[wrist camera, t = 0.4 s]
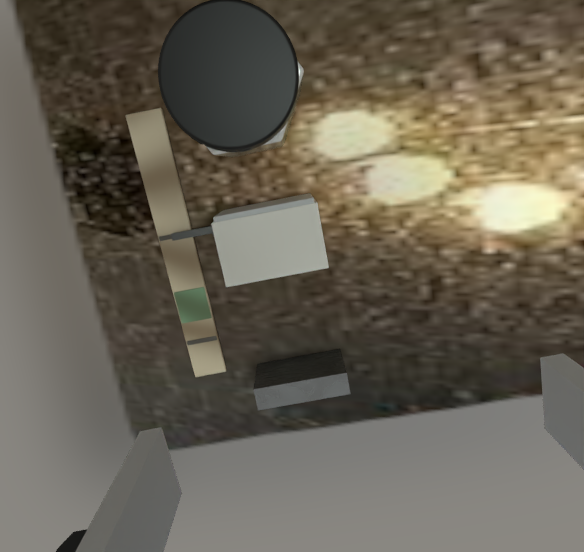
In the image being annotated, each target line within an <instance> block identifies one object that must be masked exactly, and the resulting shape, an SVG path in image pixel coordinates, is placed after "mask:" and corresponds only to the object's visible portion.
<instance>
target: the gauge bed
mask: <svg viewBox="0 0 584 552" xmlns="http://www.w3.org/2000/svg"><path fill="white" fill-rule="evenodd" d="M125 116H126V119H127V123H128V127H129V131H130V134H131V138H132V142H133V146H134V149H135V153H136V157H137V160H138V164H139V168H140V172H141V175H142V179H143V183H144V187H145V190H146V194H147V198H148V202H149V205H150V209H151V213H152V217H153V220H154V224H155V228H156V232H157V235H158V239H159V243H160V246H161V250H162V254H163V258H164V261H165V265H166V269H167V273H168V276H169V280H170V284H171V288H172V291H173V295H174V299H175V303H176V306H177V310H178V314H179V318H180V321H181V325H182V329H183V333H184V336H185V340H186V344H187V347H188V351H189V355H190V359H191V362H192V366H193V370H194V374H195V377H198V376H204V375H210V374H215V373H221V372H226V370H227V369H226V365H225V360H224V356H223V352H222V348H221V344H220V340H219V336H218V332H217V328H216V324H215V320H214V316H213V312H212V308H211V304H210V300H209V296H208V292H207V288H206V284H205V280H204V276H203V272H202V268H201V264H200V260H199V256H198V252H197V248H196V243H195V239H194V237H190V238H185V239H180V240H175V241H172V237H171V234H172V233H176V232H181V231H186V230H192V227H191V223H190V219H189V215H188V211H187V207H186V203H185V199H184V195H183V191H182V187H181V183H180V179H179V175H178V171H177V167H176V163H175V159H174V155H173V151H172V147H171V143H170V139H169V135H168V130H167V126H166V122H165V118H164V114H163V110H162V108H158V109H153V110H148V111H144V112H139V113H134V114H129V115H125Z"/></svg>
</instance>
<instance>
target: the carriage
mask: <svg viewBox="0 0 584 552" xmlns="http://www.w3.org/2000/svg"><path fill="white" fill-rule="evenodd" d="M213 220H214V222H212V223H211V225H212V226H207V227H202V228H197V229H192V230H186V231H181V232H176V233H172V234H171V237H172V241H175V240H180V239H185V238H190V237H195V236H200V235H206V234H211V233H212V234H213V236H214V238H215V242H216V246H217V250H218V255H219V259H220V263H221V267H222V272H223V276H224V280H225V284H226V287H230V286H236V285H241V284H246V283H252V282H257V281H262V280H267V279H273V278H278V277H283V276H289V275H294V274H299V273H304V272H310V271H315V270H320V269H326V268H329V266H328V261H327V255H326V249H325V244H324V238H323V232H322V227H321V221H320V215H319V210H318V204H317V202H316V200H315V199H314V198H313V196H312V195H311V194H310V193H308V194H303V195H298V196H293V197H287V198H282V199H277V200H272V201H267V202H262V203H257V204H252V205H247V206H241V207H236V208H231V209H226V210H223V211H221V212H220V213H218V214H217V215H216V216H214V217H213Z"/></svg>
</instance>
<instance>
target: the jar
mask: <svg viewBox="0 0 584 552" xmlns="http://www.w3.org/2000/svg"><path fill="white" fill-rule="evenodd" d="M303 74H304V69H303V68H302V66H301V65H300V64H299V63H298V61H297V57H296V53H295V50H294V48H293V45H292V43H291V41H290V39H289V37H288V35H287V34H286V32H285V31H284V29H283V28H282V27H281V25H280V24H279V23H278V22H277V21H276V20H275V19H274V18H273V17H272V16H271V15H270V14H268V13H267V12H266V11H264V10H263V9H261V8H259V7H258V6H255V5H253V4H251V3H248V2H246V1H242V0H210V1H207V2H204V3H201V4H199V5H197V6H195V7H193V8H192V9H190V10H189V11H187V12H186V13H185V14H183V15H182V16H181V17H180V18H179V19H178V20H177V21H176V23H175V24H174V25H173V26H172V28H171V29H170V31H169V33H168V34H167V36H166V38H165V41H164V43H163V46H162V49H161V53H160V57H159V64H158V79H159V86H160V91H161V95H162V98H163V101H164V103H165V105H166V108H167V110H168V111H169V113H170V115H171V116H172V118H173V119H174V121H175V122H176V123H177V124H178V126H179V127H180V128H181V129H182V130H183V131H184V132H185V133H186V134H188V135H189V136H190V137H191V138H192V139H194V140H196V141H197V142H199V143H200V144H203V145H205V146H206V147H207V148H208V149H209V151H210V152H211V153H212V154H214V155H219V156H226V157H236V156H241V155H246V154H251V153H256V152H260V151H265V150H270V149H275V148H280V147H283V145H284V143H285V140H286V137H287V133H288V130H289V127H290V124H291V121H292V118H293V115H294V112H295V109H296V106H297V102H298V99H299V96H300V92H301V86H302V80H303Z"/></svg>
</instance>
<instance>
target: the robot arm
mask: <svg viewBox="0 0 584 552" xmlns="http://www.w3.org/2000/svg"><path fill="white" fill-rule="evenodd" d="M540 360H541V376H542V392H543V408H544V425H545V429H546V430H547V431H548V433H550V435H552V437H553V438H554V439H555V440H556V441H557V442H558V443H559V444H560V445H561V446H562V447H563V448H564V449H565V450H566V451H567V453H569V455H570V456H571V457H572V458H573V459H574V460H575V461H576V462H577V463H578V464H579V465H580V466H581V467H582V468H583V469H584V368H583V367H582V366H580V365H579V364H577V363H576V362H574V361H573V360H572V359H570V358H569V357H567V356H566V355H565V354H558V355H553V356H547V357H542V358H540ZM181 494H182V492H181V488H180V486H179V482H178V479H177V476H176V472H175V469H174V466H173V463H172V460H171V456H170V453H169V450H168V447H167V444H166V440H165V437H164V434H163V431H162V428H156V429H150V430H145V431H140V433H139V434H138V436H137V438H136V440H135V442H134V444H133V446H132V447H131V449H130V451H129V453H128V455H127V457H126V459H125V460H124V462H123V464H122V466H121V468H120V470H119V472H118V473H117V475H116V477H115V479H114V481H113V483H112V485H111V486H110V488H109V490H108V492H107V494H106V496H105V498H104V499H103V501H102V503H101V505H100V507H99V509H98V511H97V512H96V514H95V516H94V518H93V520H92V522H91V524H90V526H89V528H88V529H87V530H81V531H76V532H73V533H72V534H71V535H70V536H69V537H68V538H67V540H66V541H64V542H63V544H62V545H61V546H60V547H59V548H58V549H57V551H56V552H163V551H164V548H165V545H166V542H167V539H168V536H169V532H170V529H171V526H172V523H173V520H174V516H175V513H176V510H177V507H178V504H179V501H180V497H181Z"/></svg>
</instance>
